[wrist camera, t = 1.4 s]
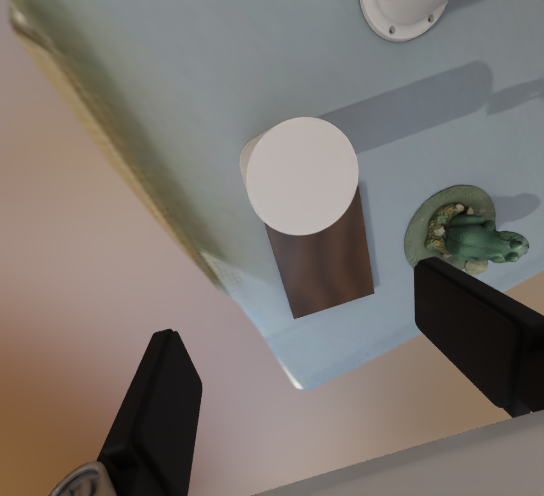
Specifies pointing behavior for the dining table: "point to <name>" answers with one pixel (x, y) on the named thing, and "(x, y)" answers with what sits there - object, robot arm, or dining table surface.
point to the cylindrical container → (300, 175)
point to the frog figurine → (461, 232)
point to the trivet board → (325, 263)
